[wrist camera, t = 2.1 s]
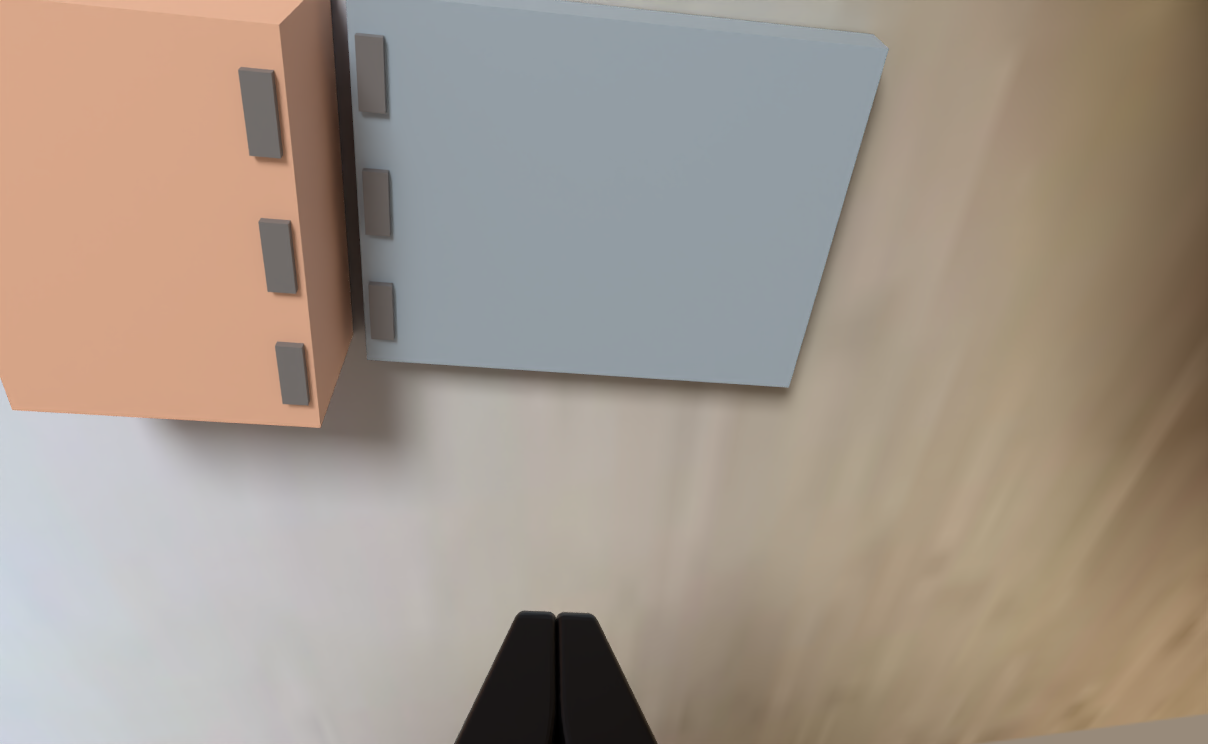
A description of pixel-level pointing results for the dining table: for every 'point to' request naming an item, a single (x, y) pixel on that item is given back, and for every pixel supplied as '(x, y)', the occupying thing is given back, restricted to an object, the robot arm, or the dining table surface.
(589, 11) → the blue-grey flat panel
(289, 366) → the stub
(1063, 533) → the dining table surface
